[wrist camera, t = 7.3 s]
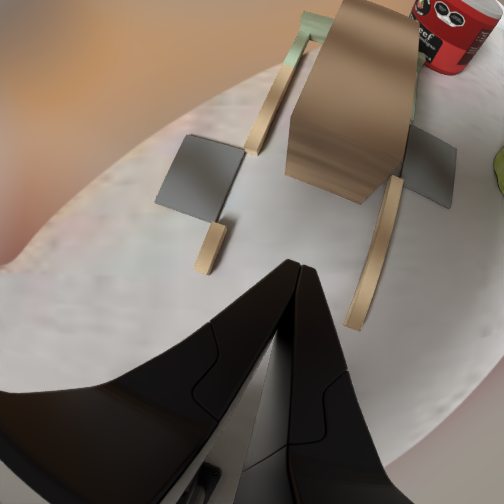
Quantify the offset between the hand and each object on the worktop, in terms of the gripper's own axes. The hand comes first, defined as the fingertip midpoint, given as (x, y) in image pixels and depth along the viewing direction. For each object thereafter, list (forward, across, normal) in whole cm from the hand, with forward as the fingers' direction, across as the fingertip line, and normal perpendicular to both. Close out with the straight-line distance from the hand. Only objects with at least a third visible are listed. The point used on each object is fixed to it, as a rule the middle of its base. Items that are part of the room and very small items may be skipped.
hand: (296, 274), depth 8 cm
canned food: (+30, -8, -12) cm, 33 cm away
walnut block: (+19, -1, -1) cm, 19 cm away
